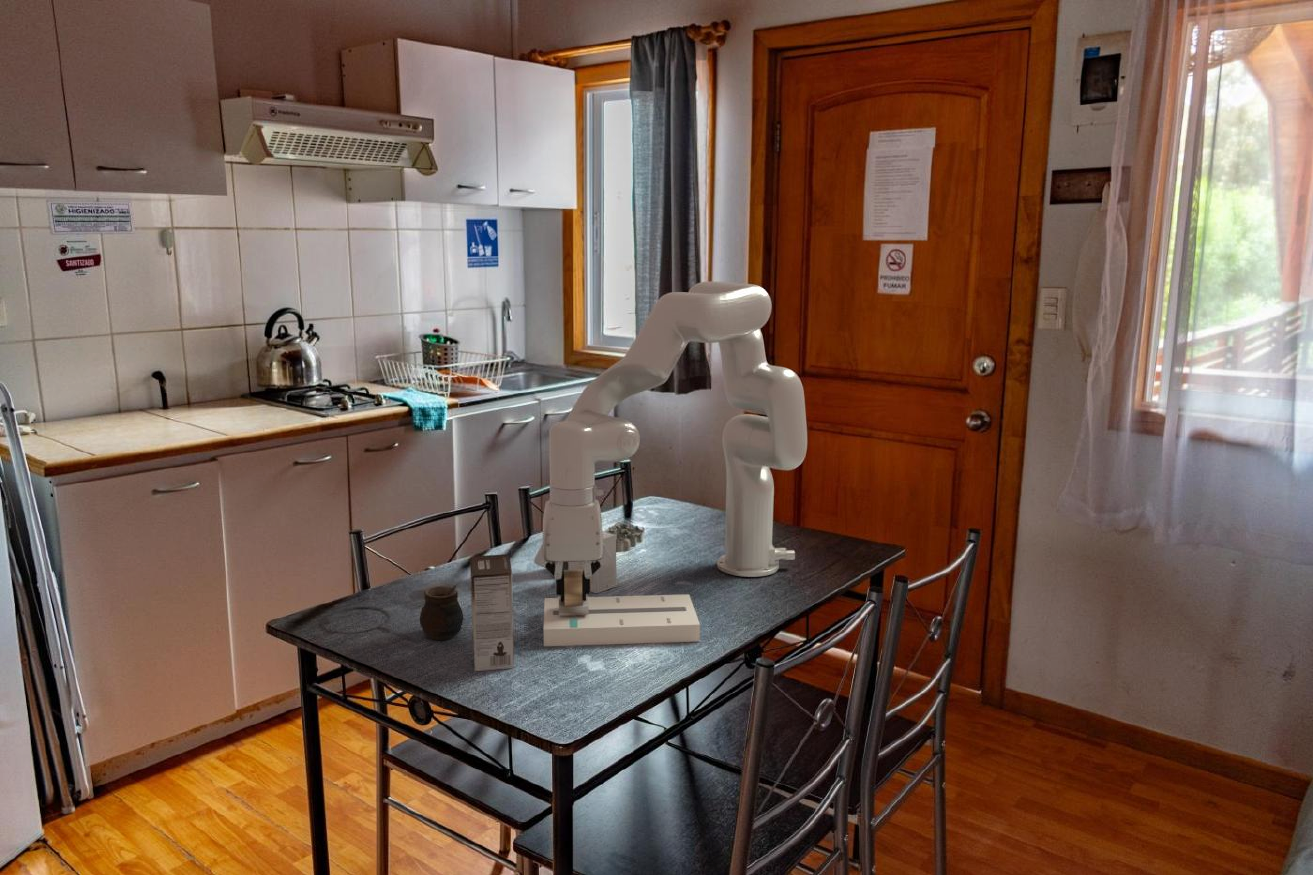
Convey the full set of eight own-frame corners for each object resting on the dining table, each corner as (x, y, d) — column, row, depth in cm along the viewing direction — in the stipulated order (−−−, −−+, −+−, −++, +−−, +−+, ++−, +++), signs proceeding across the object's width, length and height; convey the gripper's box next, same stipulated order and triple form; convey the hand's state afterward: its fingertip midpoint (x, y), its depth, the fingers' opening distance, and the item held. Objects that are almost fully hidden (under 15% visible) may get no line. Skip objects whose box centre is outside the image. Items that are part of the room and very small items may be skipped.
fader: (587, 603, 174) (587, 568, 173) (588, 614, 169) (588, 578, 168) (558, 604, 173) (558, 569, 172) (558, 615, 169) (558, 579, 167)
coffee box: (472, 648, 164) (469, 555, 160) (511, 645, 165) (509, 552, 162) (474, 672, 155) (471, 574, 152) (515, 669, 156) (513, 571, 153)
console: (688, 610, 181) (689, 593, 180) (699, 641, 167) (700, 624, 167) (544, 614, 178) (544, 597, 178) (543, 646, 165) (543, 628, 164)
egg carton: (625, 554, 212) (625, 536, 211) (594, 549, 215) (594, 531, 214) (648, 540, 221) (648, 523, 220) (618, 535, 225) (618, 518, 224)
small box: (617, 587, 192) (617, 534, 190) (596, 594, 188) (596, 541, 186) (588, 577, 197) (588, 526, 195) (567, 584, 193) (567, 532, 191)
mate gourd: (440, 623, 174) (439, 569, 172) (474, 633, 170) (473, 577, 168) (411, 637, 168) (409, 581, 166) (445, 647, 164) (444, 590, 162)
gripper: (619, 488, 171) (619, 589, 175) (523, 490, 170) (525, 591, 174) (622, 500, 164) (622, 605, 168) (522, 501, 163) (524, 608, 166)
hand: (573, 597), depth 171 cm, fingers closed on fader, 3 cm apart
